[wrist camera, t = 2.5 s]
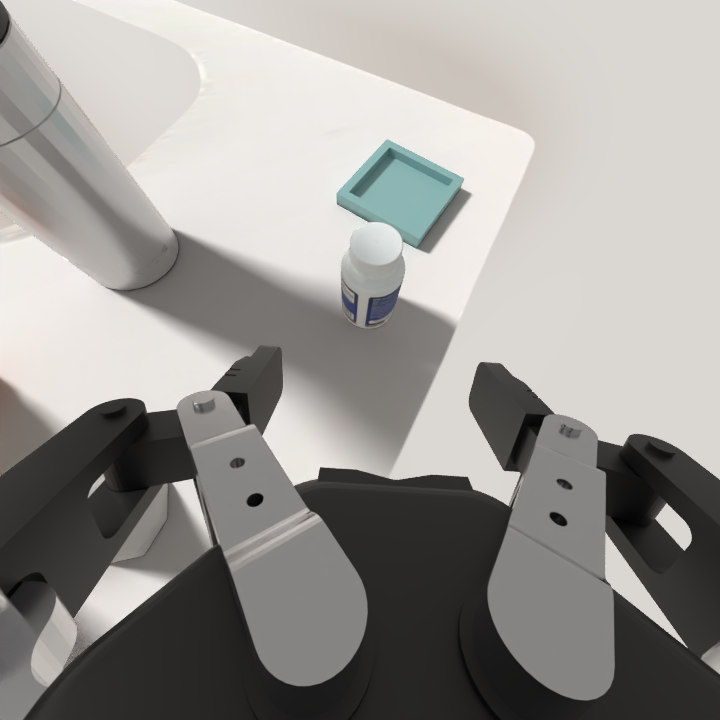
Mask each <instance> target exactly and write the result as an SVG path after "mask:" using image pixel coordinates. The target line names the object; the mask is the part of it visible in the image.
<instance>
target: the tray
mask: <svg viewBox="0 0 720 720" xmlns="http://www.w3.org/2000/svg"><path fill="white" fill-rule="evenodd" d="M463 181H464V178H462V177H460V176H458V175H456V174H454V173H452V172H450V171H448V170H446V169H444V168H442V167H440V166H438V165H437V164H435V163H433V162H431V161H429V160H427V159H425V158H423V157H421V156H419V155H417V154H415V153H413V152H411V151H409V150H407V149H405V148H403V147H401V146H399V145H397V144H395V143H393V142H391V141H389V140H386V141H385V142H384V143H383V144H382V145H381V146H380V147H379V148H378V149H377V151H376V152H375V153H374V154H373V155H372V156H371V157H370V158H369V159H368V160H367V161H366V162H365V163H364V164H363V166H362V167H361V168H360V169H359V170H358V171H357V172H356V173H355V174H354V175H353V176H352V177H351V178H350V180H349V181H348V182H347V183H346V184H345V185H344V186H343V187H342V188H341V189H340V190H339V191H338V192H337V204H338V205H340V206H342V207H343V208H345V209H347V210H349V211H350V212H352V213H354V214H356V215H358V216H359V217H361V218H363V219H365V220H367V221H368V222H380V223H385V224H388V225H390V226H391V227H393V228H394V229H396V230H397V231H398V233H399V234H400V236H401V238H402V241H404V242H406V243H407V244H409V245H411V246H413V247H415V248H417V247H418V245H419V244H420V243H421V241H422V240H423V239H424V237H425V236H426V235H427V233H428V232H429V231H430V229H431V228H432V226H433V225H434V224H435V222H436V221H437V220H438V218H439V217H440V216H441V214H442V213H443V212H444V210H445V209H446V207H447V206H448V205H449V203H450V202H451V201H452V199H453V198H454V197H455V195H456V194H457V193H458V191H459V190H460V188H461V185H462V183H463Z"/></svg>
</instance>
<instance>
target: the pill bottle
mask: <svg viewBox="0 0 720 720" xmlns="http://www.w3.org/2000/svg"><path fill="white" fill-rule="evenodd" d="M402 250H403V241H402V238H401V236H400V234H399V233H398V231H397V230H396V229H394V228H393V227H391V226H390V225H388V224H385V223H380V222H370V223H366V224H363V225H361V226H360V227H358V228H357V229H356V230H355V231H354V232H353V234H352V236H351V239H350V247H349V248H348V249H347V251H346V252H345V254H344V256H343V258H342V262H341V289H342V308H343V312H344V314H345V316H346V318H347V319H348V320H349V321H350V322H351V323H352V324H353V325H355V326H358V327H361V328H366V329H373V328H377V327H380V326H382V325H383V324H384V323H386V322H387V321H388V320H389V318H390V317H391V315H392V312H393V310H394V306H395V303H396V300H397V297H398V294H399V290H400V287H401V284H402V281H403V278H404V274H405V262H404V259H403V256H402Z"/></svg>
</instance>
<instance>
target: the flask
mask: <svg viewBox="0 0 720 720" xmlns="http://www.w3.org/2000/svg"><path fill="white" fill-rule="evenodd" d="M104 480H105V477H104V475H103V474H102V475H101V476H100V477H99V478H98V480H97V481H96V482H95V483H94V484H93V486H92V487H91V489H90V492H89V495H88V498H89V497H90V495H91V494H92V493H93V492H94V491H95V490H96V489H97V488H98V487H99V486H100V484H101V483H102V482H103V481H104ZM167 499H168V483H167V484H164V485H163V486H162V488H161V489H160V491H159V492H158V494H157V495H156V497H155V498H154V500H153V501H152V503H151V504H150V506H149V507H148V509H147V510H146V512H145V513H144V515H143V516H142V517H141V519H140V520H139V522H138V523H137V525H136V526H135V528H134V529H133V531H132V532H131V534H130V535H129V537H128V538H127V540H126V541H125V543H124V544H123V546H122V547H121V549H120V550H119V552H118V553H117V555H116V556H115V557H114V559H113V560H112V562H111V563H113V562H118V561H122V560H127V559H132V558H136V557H141V556H144V555H145V553H146V551H147V550H148V548H149V547H150V545H151V543H152V542H153V540H154V539H155V537H156V536H157V534H158V532H159V531H160V529H161V528H162V526H163V524H164V523H165V521H166V520H167Z"/></svg>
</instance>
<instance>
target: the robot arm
mask: <svg viewBox="0 0 720 720" xmlns="http://www.w3.org/2000/svg"><path fill="white" fill-rule="evenodd" d="M0 212H1V213H3V214H4V215H5V216H7V217H8V218H10V219H11V220H12V221H14V222H15V223H16V224H18V225H19V226H21V227H22V228H23V229H25V230H26V231H28V232H29V233H30V234H32V235H33V236H34V237H36V238H37V239H39V240H40V241H41V242H43V243H44V244H46V245H47V246H48V247H50V248H51V249H52V250H54V251H55V252H57V253H58V254H59V255H61V256H62V257H63V258H65V259H66V260H67V261H69V262H70V263H72V264H73V265H74V266H76V267H77V268H79V269H80V270H81V271H83V272H84V273H86V274H87V275H88V276H90V277H91V278H93V279H94V280H96V281H97V282H98V283H100V284H101V285H103V286H106V287H108V288H111V289H117V290H131V289H137V288H141V287H144V286H147V285H149V284H151V283H153V282H155V281H157V280H158V279H160V278H161V277H162V276H163V275H165V274H166V273H167V272H168V271H169V269H170V268H171V267H172V265H173V264H174V262H175V260H176V258H177V254H178V241H177V237H176V236H175V234H174V232H173V231H172V229H171V228H170V227H169V225H168V224H167V223H166V221H165V220H164V219H163V217H162V216H161V215H160V213H159V212H158V211H157V209H156V208H155V207H154V205H153V204H152V202H151V201H150V200H149V198H148V197H147V196H146V194H145V193H144V192H143V190H142V189H141V188H140V186H139V185H138V184H137V182H136V181H135V180H134V178H133V177H132V176H131V174H130V173H129V172H128V170H127V169H126V168H125V166H124V165H123V164H122V162H121V161H120V160H119V158H118V157H117V156H116V155H115V153H114V152H113V150H112V149H111V148H110V146H109V145H108V144H107V142H106V141H105V140H104V138H103V137H102V136H101V134H100V133H99V132H98V130H97V129H96V128H95V127H94V125H93V124H92V123H91V121H90V120H89V118H88V117H87V116H86V115H85V113H84V112H83V110H82V109H81V108H80V107H79V105H78V104H77V103H76V101H75V100H74V99H73V97H72V96H71V95H70V93H69V92H68V91H67V89H66V88H65V87H64V85H63V84H62V83H61V81H60V80H59V79H58V77H57V76H56V75H55V73H54V72H53V71H52V70H51V68H50V67H49V66H48V64H47V63H46V62H45V60H44V59H43V58H42V56H41V55H40V54H39V52H38V51H37V50H36V48H35V47H34V46H33V44H32V43H31V42H30V40H29V39H28V38H27V36H26V35H25V34H24V32H23V31H22V30H21V28H20V27H19V26H18V24H17V23H16V22H15V20H14V19H13V18H12V17H11V15H10V14H9V12H8V11H7V10H6V8H5V7H4V5H3V4H2V2H1V1H0ZM282 388H283V374H282V352H281V348H280V347H274V346H260V347H259V348H258V349H257V350H256V352H255V353H254V354H253V355H252V356H251V357H248V356H246V357H244V358H242V359H240V360H238V361H236V362H235V363H234V364H233V365H232V366H231V368H230V370H228V371H227V372H226V373H225V375H223V376H222V378H221V379H220V380H219V381H218V382H217V383H216V384H215V385H214V386H213V388H212V389H211V390H210V391H202V392H197V393H194V394H191V395H189V396H187V397H185V398H184V399H182V400H181V401H180V402H179V403H178V405H177V409H176V410H168V411H160V412H151V413H147V411H146V407H145V404H144V402H143V401H141V400H138V399H133V398H124V399H117V400H112V401H108V402H105V403H102V404H100V405H97V406H95V407H93V408H91V409H90V410H88V411H87V412H85V413H84V414H83V415H81V416H80V417H79V418H77V419H76V420H75V421H73V422H72V423H71V424H69V425H68V426H67V427H65V428H64V429H63V430H61V431H60V432H59V433H58V434H56V435H55V436H54V437H52V438H51V439H50V440H48V441H47V442H46V443H44V444H43V445H42V446H40V447H39V448H38V449H36V450H35V451H34V452H32V453H31V454H30V455H28V456H27V457H26V458H24V459H23V460H22V461H20V462H19V463H18V464H16V465H15V466H14V467H12V468H11V469H10V470H8V471H7V472H6V473H5V474H3V475H2V476H1V477H0V720H720V480H719V479H718V478H716V477H715V476H714V475H713V474H711V473H710V472H709V471H708V470H706V469H705V468H704V467H702V466H701V465H700V464H698V463H697V462H696V461H694V460H693V459H692V458H691V457H689V456H688V455H687V454H686V453H684V452H683V451H681V450H680V449H678V448H677V447H675V446H673V445H671V444H669V443H667V442H665V441H662V440H660V439H657V438H654V437H651V436H647V435H642V434H633V435H630V436H629V437H628V439H627V441H626V442H625V444H624V446H619V445H615V444H611V443H607V442H603V441H599V440H598V437H597V435H596V433H595V432H594V431H593V430H592V429H591V428H590V427H588V426H587V425H585V424H584V423H582V422H580V421H577V420H576V419H573V418H570V417H567V416H563V415H556V414H554V413H553V412H552V411H551V410H550V408H548V406H547V405H546V404H545V403H544V402H543V401H542V400H541V399H540V398H538V396H537V395H536V394H535V393H534V392H532V390H531V389H530V388H529V387H528V386H527V385H526V384H525V383H524V382H522V381H520V380H519V379H517V378H515V377H514V376H512V375H511V374H510V373H509V372H508V370H507V369H505V367H504V366H503V365H502V364H500V363H487V362H481V363H479V365H478V367H477V370H476V373H475V377H474V381H473V385H472V388H471V392H470V396H469V407H470V410H471V412H472V414H473V416H474V418H475V420H476V421H477V423H478V425H479V427H480V429H481V430H482V432H483V434H484V436H485V438H486V439H487V441H488V443H489V445H490V447H491V448H492V450H493V452H494V454H495V456H496V457H497V459H498V461H499V463H500V465H501V466H502V468H503V470H504V471H515V472H520V473H521V475H520V477H519V480H518V482H517V485H516V487H515V490H514V493H513V495H512V498H511V501H510V503H509V506H507V505H506V504H504V503H503V502H501V501H499V500H497V499H495V498H493V497H491V496H489V495H487V494H484V493H482V492H479V491H476V490H473V489H472V486H471V484H470V481H469V479H468V477H459V476H442V475H427V476H421V477H415V478H408V479H402V480H392V479H388V478H385V477H381V476H377V475H374V474H370V473H366V472H363V471H359V470H351V469H336V468H321V467H320V470H319V476H318V479H316V480H311V481H307V482H303V483H300V484H298V485H295V486H293V484H292V483H291V481H290V480H289V478H288V476H287V475H286V473H285V472H284V470H283V469H282V467H281V465H280V464H279V462H278V461H277V459H276V458H275V456H274V454H273V453H272V451H271V450H270V448H269V446H268V445H267V443H266V442H265V440H264V439H263V437H262V435H263V433H264V431H265V429H266V426H267V424H268V422H269V420H270V418H271V416H272V414H273V412H274V409H275V407H276V405H277V403H278V401H279V399H280V397H281V393H282ZM102 474H103V475H104V477H105V480H104V481H103V482H102V483H101V484H100V486H99V487H98V488H97V489H96V490H95V491H94V492H93V493H92V494H91V495H90V497H89V498H88V495H89V492H90V489H91V487H92V486H93V484H94V483H95V482H96V481H97V480H98V478H99V477H100V476H101V475H102ZM189 479H193V482H194V485H195V488H196V492H197V495H198V499H199V502H200V506H201V509H202V513H203V516H204V520H205V523H206V527H207V530H208V534H209V538H210V542H211V546H212V548H211V549H210V550H208V551H207V552H206V553H205V554H203V555H202V556H201V557H200V558H198V559H197V560H196V561H195V562H193V563H192V564H191V565H190V566H188V567H187V568H186V569H185V570H183V571H182V572H181V573H180V574H178V575H177V576H176V577H175V578H173V579H172V580H171V581H170V582H169V583H167V584H166V585H165V586H164V587H162V588H161V589H160V590H159V591H157V592H156V593H155V594H154V595H152V596H151V597H150V598H149V599H147V600H146V601H145V602H144V603H142V604H141V605H140V606H139V607H137V608H136V609H135V610H134V611H132V612H131V613H130V614H129V615H128V616H126V617H125V618H124V619H123V620H121V621H120V622H119V623H118V624H116V625H115V626H114V627H113V628H111V629H110V630H109V631H108V632H106V633H105V634H104V635H103V636H101V637H100V638H99V639H98V640H96V641H95V642H94V643H93V644H92V645H90V646H89V647H88V648H87V649H86V650H85V651H83V652H82V653H81V654H80V655H79V656H78V657H76V658H75V659H74V660H73V661H72V662H71V663H70V664H69V665H68V666H67V667H66V668H65V669H64V670H63V668H64V666H65V664H66V662H67V660H68V658H69V656H70V654H71V652H72V650H73V647H74V644H75V642H76V637H77V626H76V622H75V621H74V619H73V618H74V617H75V615H76V614H77V612H78V611H79V609H80V608H81V606H82V605H83V603H84V602H85V600H86V599H87V597H88V596H89V595H90V593H91V592H92V590H93V589H94V587H95V586H96V584H97V583H98V581H99V580H100V578H101V577H102V575H103V574H104V572H105V571H106V569H107V568H108V566H109V565H110V563H111V562H112V560H113V559H114V557H115V556H116V555H117V553H118V552H119V550H120V549H121V547H122V546H123V544H124V543H125V541H126V540H127V538H128V537H129V535H130V534H131V532H132V531H133V529H134V528H135V526H136V525H137V523H138V522H139V520H140V519H141V517H142V516H143V515H144V513H145V512H146V510H147V509H148V507H149V506H150V504H151V503H152V501H153V500H154V498H155V497H156V495H157V494H158V492H159V491H160V489H161V488H162V486H163V485H164V484H167V483H173V482H178V481H183V480H189ZM666 503H668V505H669V506H670V507H671V508H672V509H673V510H674V511H675V512H676V513H677V514H678V515H679V516H680V517H681V518H682V519H683V520H684V521H685V522H686V523H687V525H688V526H689V528H690V531H691V534H692V541H691V544H690V545H689V546H688V547H687V549H686V550H685V551H684V550H683V549H682V548H681V547H680V546H679V545H678V544H677V543H676V542H675V540H674V539H673V538H672V537H671V536H670V535H669V534H668V533H667V532H666V530H664V528H663V527H662V526H661V525H660V524H659V523H658V522H657V521H656V519H655V518H656V516H657V515H658V514H659V512H660V511H661V509H662V508H663V507H664V506H665V504H666ZM605 532H606V533H607V535H608V536H609V537H610V539H611V540H612V542H613V543H614V545H615V546H616V547H617V549H618V550H619V552H620V553H621V554H622V556H623V557H624V558H625V560H626V561H627V563H628V564H629V566H630V567H631V568H632V570H633V571H634V572H635V574H636V575H637V577H638V578H639V580H640V581H641V582H642V584H643V585H644V586H645V588H646V590H647V591H648V592H649V593H650V595H651V597H652V598H653V599H654V601H655V602H656V604H657V605H658V606H659V608H660V609H661V611H662V612H663V613H664V615H665V616H666V618H667V619H668V621H669V622H670V623H671V625H672V626H673V627H674V629H675V630H676V632H677V633H678V635H679V636H680V637H681V639H682V640H683V642H684V643H685V644H686V646H687V647H688V648H686V647H685V646H684V645H683V644H681V643H680V642H679V641H678V640H676V639H675V638H674V637H672V636H671V635H670V634H669V633H668V632H666V631H665V630H664V629H662V628H661V627H660V626H659V625H658V624H656V623H655V622H654V621H653V620H651V619H650V618H649V617H648V616H646V615H645V614H644V613H642V612H641V611H640V610H639V609H638V608H636V607H635V606H634V605H632V604H631V603H630V602H628V601H627V600H626V599H625V598H623V597H622V596H621V595H620V594H618V593H617V592H616V591H615V590H613V589H612V587H611V585H610V584H609V583H608V582H607V581H606V579H605Z"/></svg>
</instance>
